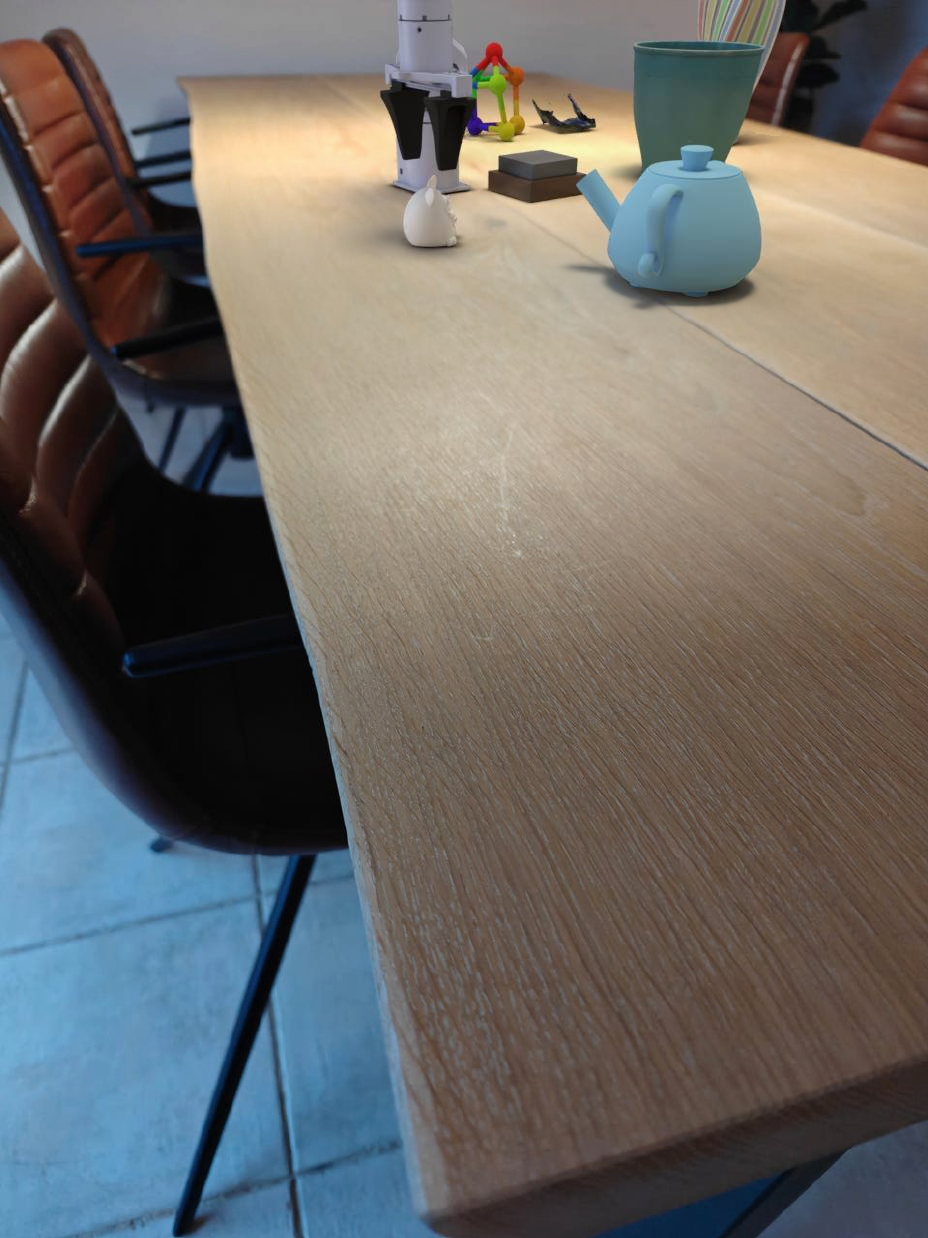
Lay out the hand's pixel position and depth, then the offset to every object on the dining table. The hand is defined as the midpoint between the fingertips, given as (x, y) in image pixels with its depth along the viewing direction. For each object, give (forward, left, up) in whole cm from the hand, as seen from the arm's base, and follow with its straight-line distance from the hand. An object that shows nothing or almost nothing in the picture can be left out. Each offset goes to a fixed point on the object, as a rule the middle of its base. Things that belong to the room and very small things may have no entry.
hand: (428, 164), depth 100 cm
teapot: (+26, +12, -8) cm, 30 cm away
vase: (-26, +78, -8) cm, 83 cm away
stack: (-14, +27, -8) cm, 32 cm away
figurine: (0, 0, -8) cm, 8 cm away
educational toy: (-55, +48, -8) cm, 73 cm away
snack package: (-54, +65, -8) cm, 85 cm away
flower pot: (-9, +51, -8) cm, 52 cm away
